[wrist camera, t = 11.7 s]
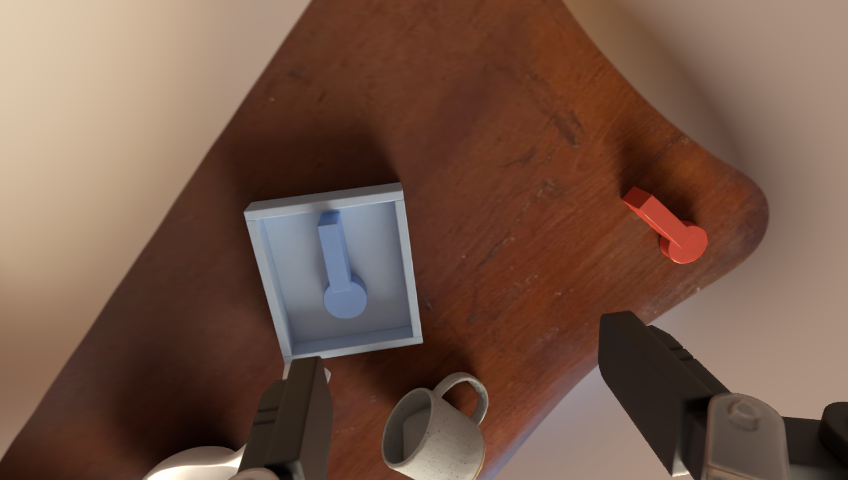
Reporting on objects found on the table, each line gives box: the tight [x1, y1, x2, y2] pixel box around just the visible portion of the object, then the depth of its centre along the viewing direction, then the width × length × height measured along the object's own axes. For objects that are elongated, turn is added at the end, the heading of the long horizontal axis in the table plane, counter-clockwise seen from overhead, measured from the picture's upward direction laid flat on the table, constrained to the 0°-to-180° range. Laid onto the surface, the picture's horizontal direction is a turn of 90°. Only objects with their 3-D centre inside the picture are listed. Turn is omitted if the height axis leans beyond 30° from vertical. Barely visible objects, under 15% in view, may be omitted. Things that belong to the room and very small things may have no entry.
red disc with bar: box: [621, 186, 708, 263], centre depth 42 cm, size 10×4×3 cm, turn 51°
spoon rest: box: [142, 363, 330, 480], centre depth 44 cm, size 24×12×7 cm, turn 141°
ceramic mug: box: [381, 372, 488, 480], centre depth 45 cm, size 11×8×8 cm
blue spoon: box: [317, 212, 367, 319], centre depth 39 cm, size 10×4×3 cm, turn 6°
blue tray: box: [244, 182, 423, 364], centre depth 40 cm, size 15×13×3 cm
